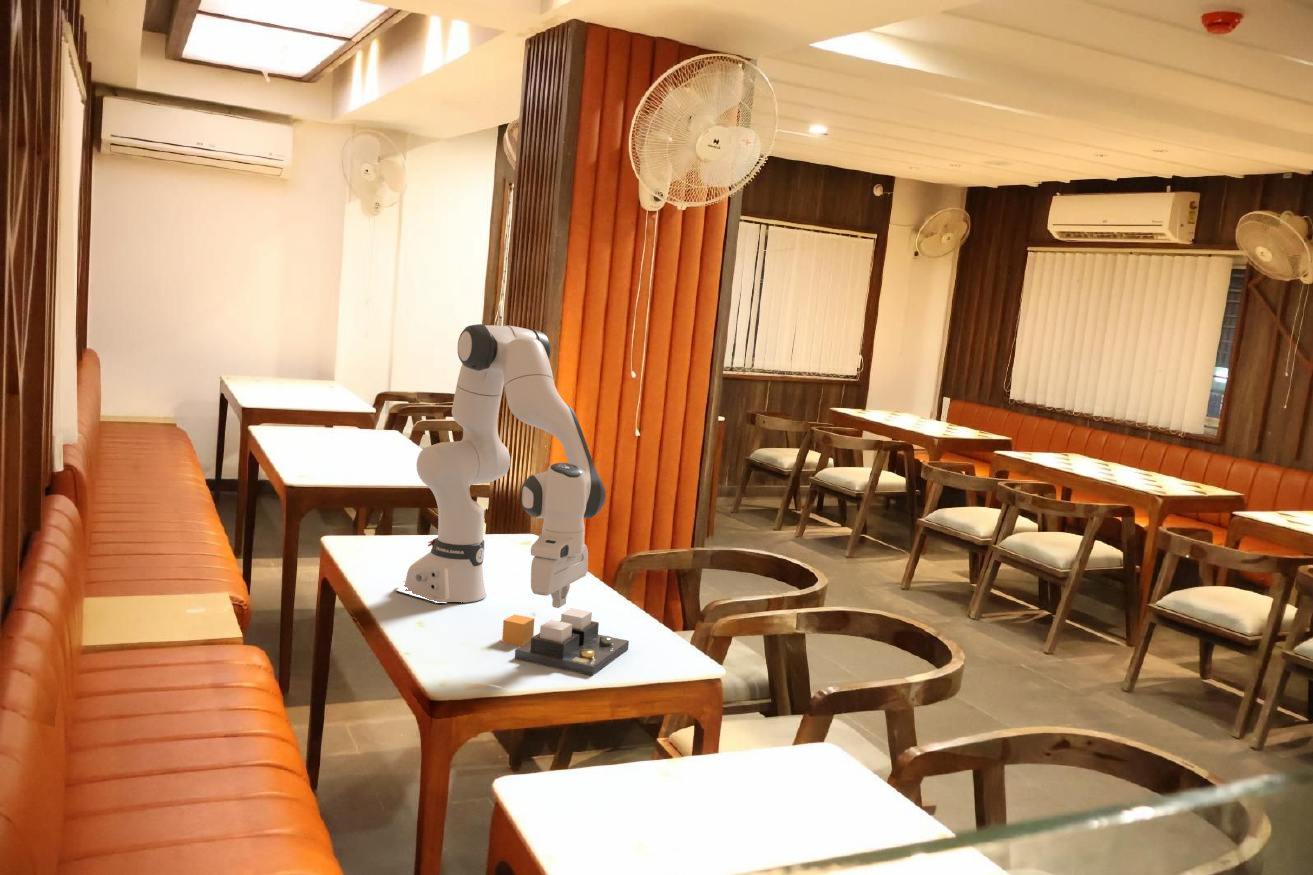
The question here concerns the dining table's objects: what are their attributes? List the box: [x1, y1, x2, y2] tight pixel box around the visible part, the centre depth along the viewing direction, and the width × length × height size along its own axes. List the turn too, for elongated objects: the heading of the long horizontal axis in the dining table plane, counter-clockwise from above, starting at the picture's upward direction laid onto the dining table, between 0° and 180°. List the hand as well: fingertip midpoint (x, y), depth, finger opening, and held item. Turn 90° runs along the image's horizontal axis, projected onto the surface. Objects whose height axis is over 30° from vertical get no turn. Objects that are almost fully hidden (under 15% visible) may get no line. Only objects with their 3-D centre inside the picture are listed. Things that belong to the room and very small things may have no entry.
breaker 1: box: [539, 619, 572, 642], centre depth 225 cm, size 5×5×3 cm
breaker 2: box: [560, 607, 593, 630], centre depth 234 cm, size 5×5×3 cm
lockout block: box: [501, 614, 535, 647], centre depth 235 cm, size 5×5×5 cm
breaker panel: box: [514, 620, 630, 676], centre depth 229 cm, size 18×19×5 cm
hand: (559, 606), depth 224 cm, fingers closed
